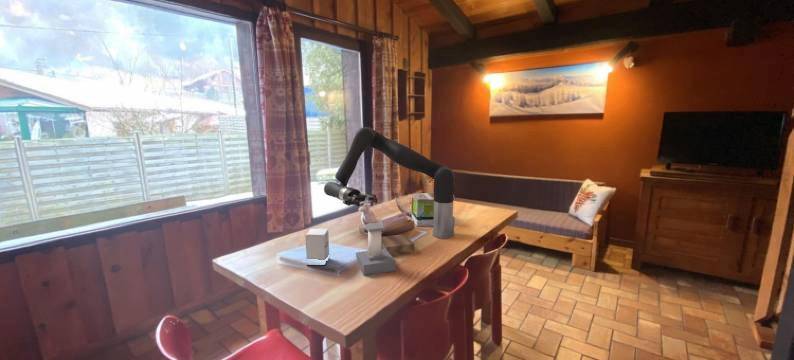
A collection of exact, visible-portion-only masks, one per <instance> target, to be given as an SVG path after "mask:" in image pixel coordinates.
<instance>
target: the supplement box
mask: <svg viewBox="0 0 794 360" xmlns="http://www.w3.org/2000/svg"><path fill="white" fill-rule="evenodd" d="M305 251H306V252H305V254H306V258H307V259H318V260H325V259H326V258H327V257H328V255H329V256H330V239H329V228H310V229H309V230H308V232H307V233H305ZM306 258H305V259H306ZM307 259H306V260H307Z"/></svg>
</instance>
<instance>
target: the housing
mask: <svg viewBox="0 0 794 360" xmlns="http://www.w3.org/2000/svg"><path fill="white" fill-rule="evenodd" d="M364 227H365V229H366V230H367V245H368V247H367V251H368V252H365V255H366V256H367V258H368V259H369V261H370V260H377V259H383V258H385V255H384V254H383V253H382V251H381V237H382V231H385V230H386V228H385V226H384V225H383V224H382V223H381V222H377V223H365V224H364Z"/></svg>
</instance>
